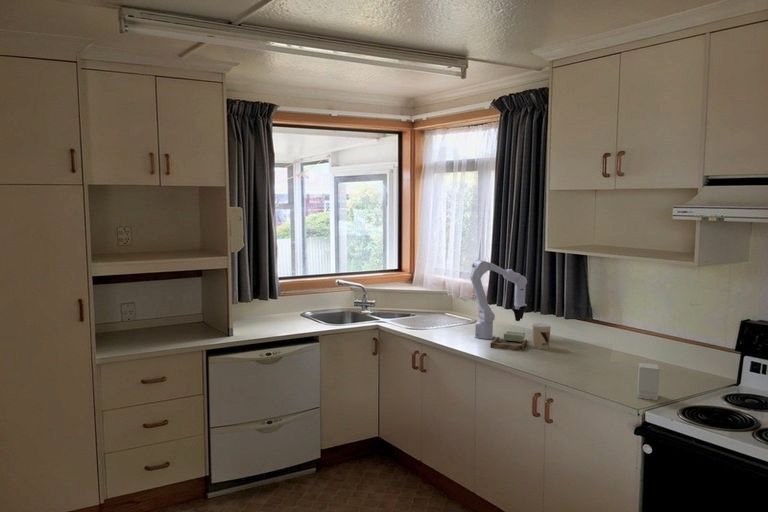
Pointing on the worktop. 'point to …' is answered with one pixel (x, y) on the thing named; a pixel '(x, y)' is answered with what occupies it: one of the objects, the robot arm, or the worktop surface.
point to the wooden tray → (507, 345)
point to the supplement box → (648, 381)
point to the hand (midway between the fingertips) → (519, 319)
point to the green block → (514, 336)
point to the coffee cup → (541, 335)
